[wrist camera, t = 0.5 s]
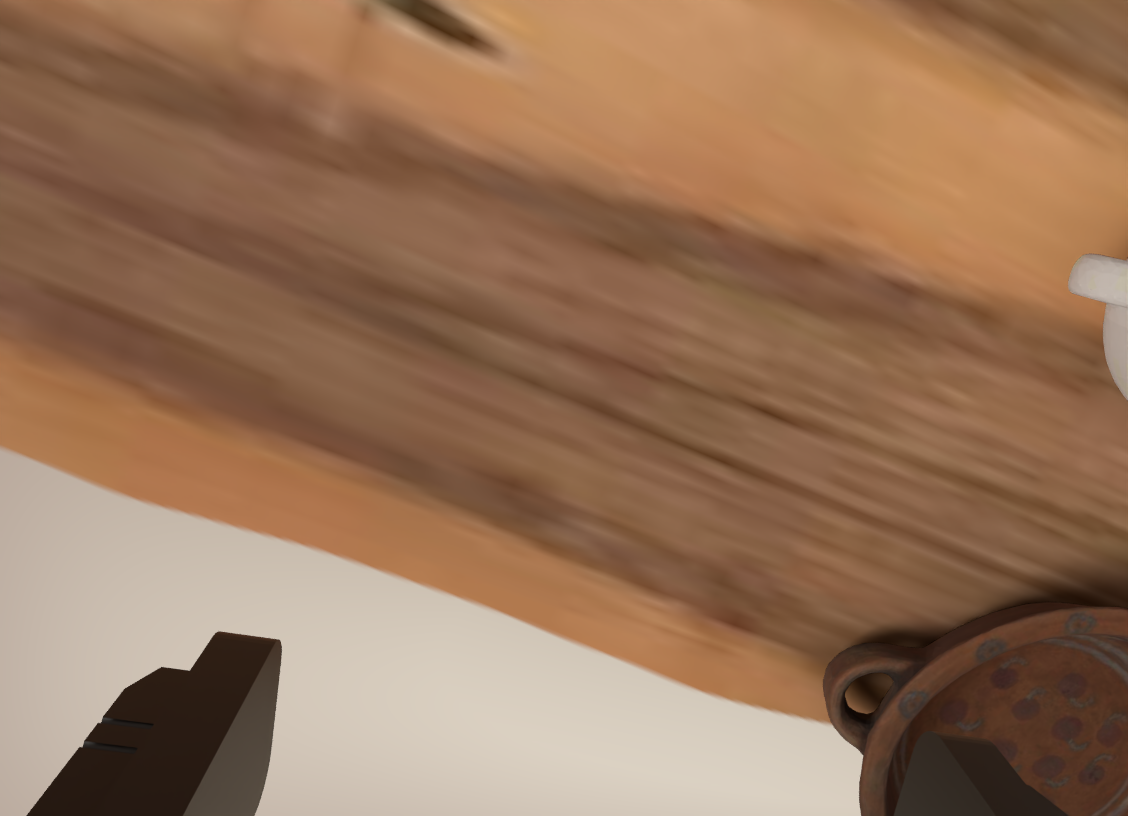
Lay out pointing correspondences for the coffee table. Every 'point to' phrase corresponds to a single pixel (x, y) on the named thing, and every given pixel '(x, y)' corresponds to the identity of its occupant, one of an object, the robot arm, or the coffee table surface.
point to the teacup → (1107, 306)
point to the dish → (1001, 703)
